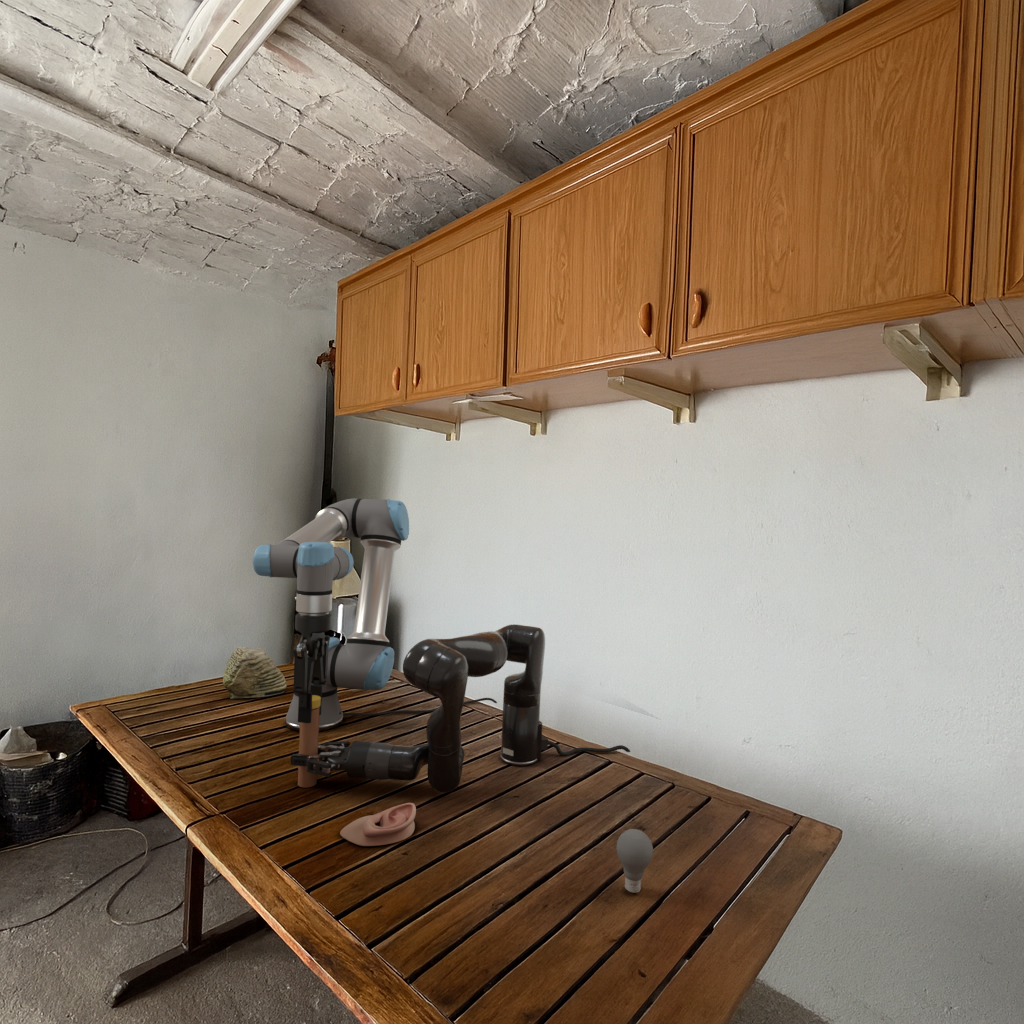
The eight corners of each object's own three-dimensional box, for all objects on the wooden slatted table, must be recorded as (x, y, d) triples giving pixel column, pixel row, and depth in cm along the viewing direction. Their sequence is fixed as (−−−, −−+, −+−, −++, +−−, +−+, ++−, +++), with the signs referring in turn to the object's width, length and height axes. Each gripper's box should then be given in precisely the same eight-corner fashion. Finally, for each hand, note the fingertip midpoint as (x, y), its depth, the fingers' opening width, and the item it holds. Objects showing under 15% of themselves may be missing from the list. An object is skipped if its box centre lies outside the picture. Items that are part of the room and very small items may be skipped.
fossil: (218, 695, 195) (220, 647, 195) (278, 685, 208) (279, 640, 207) (228, 703, 189) (230, 653, 188) (289, 692, 201) (290, 645, 201)
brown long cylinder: (306, 789, 137) (309, 705, 136) (293, 784, 139) (296, 701, 139) (320, 782, 140) (323, 700, 140) (308, 777, 142) (311, 697, 142)
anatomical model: (332, 820, 116) (360, 792, 128) (332, 841, 116) (359, 811, 128) (400, 830, 114) (422, 801, 125) (400, 852, 114) (421, 821, 125)
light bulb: (610, 879, 108) (613, 822, 108) (644, 879, 109) (647, 822, 109) (619, 902, 102) (622, 840, 102) (655, 901, 103) (658, 840, 103)
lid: (324, 706, 139) (324, 698, 139) (305, 710, 136) (306, 702, 136) (314, 701, 142) (314, 693, 142) (296, 705, 139) (296, 697, 139)
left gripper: (314, 605, 148) (310, 704, 148) (278, 618, 131) (273, 730, 131) (345, 607, 147) (341, 707, 148) (312, 621, 130) (308, 734, 130)
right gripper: (381, 731, 146) (308, 726, 147) (363, 756, 131) (282, 751, 132) (380, 764, 146) (307, 758, 147) (361, 792, 132) (281, 786, 133)
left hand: (309, 718), depth 139 cm, fingers closed on lid, 4 cm apart
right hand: (296, 755), depth 140 cm, fingers closed on brown long cylinder, 4 cm apart
